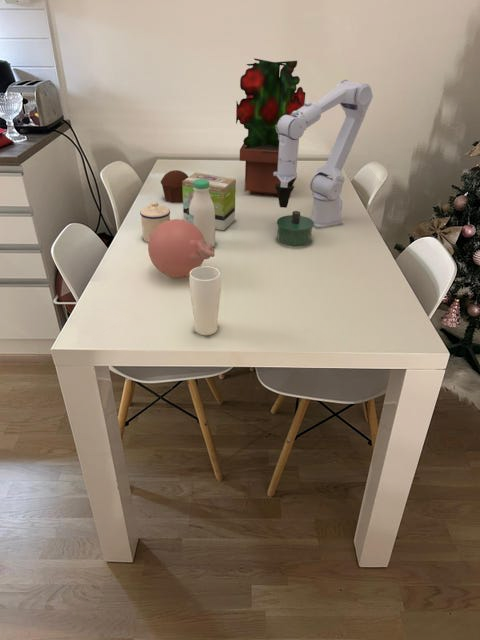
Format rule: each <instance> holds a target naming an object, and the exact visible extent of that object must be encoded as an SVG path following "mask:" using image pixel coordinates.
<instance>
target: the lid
mask: <svg viewBox="0 0 480 640" xmlns="http://www.w3.org/2000/svg"><path fill="white" fill-rule="evenodd" d="M276 225H277V227H278V226H279V227H281V228H283V229H286V230H290V231H306V230H309V229H311V228H312V229H313V228H314V226H315V225H314V222H313V221H312V220H311V219H309V217H307V216H304V215H301V211H298V210H294V211H292V212H291V214H290V215H289V214H288V215H283V216H281V217H279V218H278V219H277V220H276Z"/></svg>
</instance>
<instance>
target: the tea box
mask: <svg viewBox="0 0 480 640" xmlns="http://www.w3.org/2000/svg"><path fill="white" fill-rule="evenodd" d="M197 179H205V180H208V181H209V195H210V197H211V200H212V202H213V204H214V209H215V230H218V231H222V232H223V231H224V230H226V229H227V228H228V227H230V225H231V224H232V223H234V221H235V219H236V193H237V192H236V191H237V187H236V185H237V179H236V178H231V177H230V178H229V177H225V176H219V175H213V174H207V173H202V172H194V173H192V174H191V175H190V176H188V178H187V179H185V180H184V181H182V188H183V202H182V213H183V220H185V221H188V222H189V207H190V203H191V200H192V198H193V195H194V189H193V188H194V187H193V181H194V180H197Z"/></svg>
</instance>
